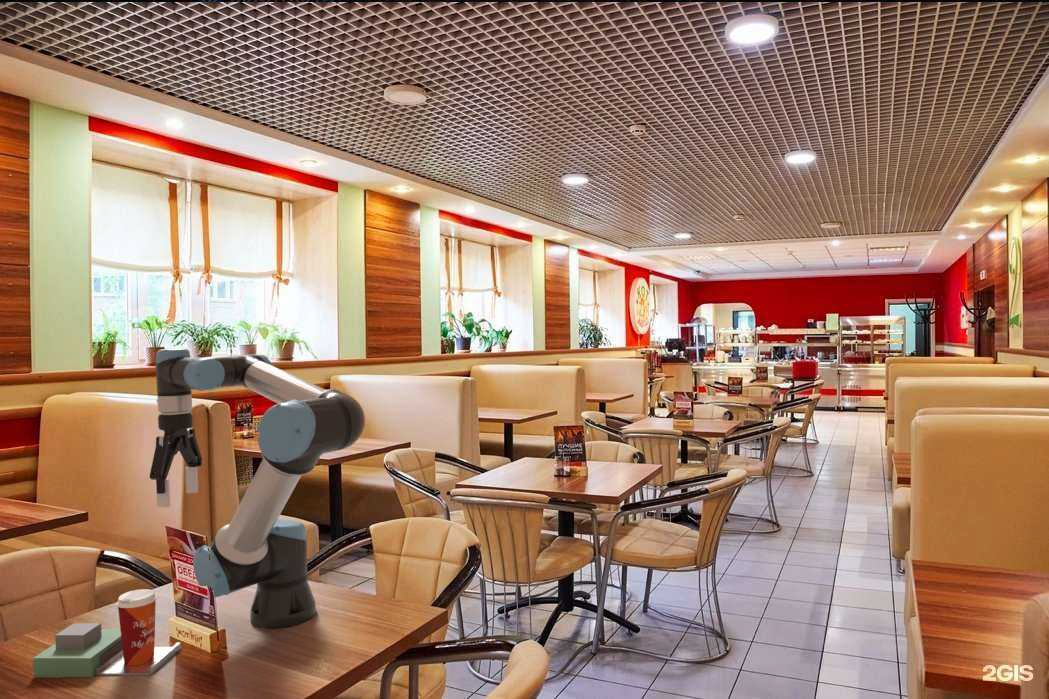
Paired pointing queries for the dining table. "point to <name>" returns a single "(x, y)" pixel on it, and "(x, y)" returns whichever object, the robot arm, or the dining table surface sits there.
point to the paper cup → (137, 625)
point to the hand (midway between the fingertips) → (178, 499)
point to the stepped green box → (78, 651)
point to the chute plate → (118, 666)
